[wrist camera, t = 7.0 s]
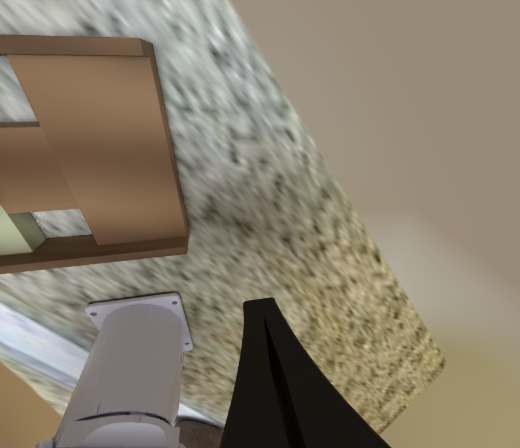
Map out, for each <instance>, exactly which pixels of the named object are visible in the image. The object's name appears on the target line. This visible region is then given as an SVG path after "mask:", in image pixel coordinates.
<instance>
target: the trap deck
mask: <svg viewBox="0 0 520 448" xmlns="http://www.w3.org/2000/svg"><path fill="white" fill-rule="evenodd" d="M0 56H7V58H8V60H9V62H10V64H11V66H12V68H13V70H14V72H15V74H16V76H17V78H18V81H19V83H20V85H21V87H22V89H23V91H24V93H25V95H26V97H27V99H28V101H29V103H30V105H31V108H32V110H33V112H34V114H35V116H36V118H37V120H38V122H17V123H0V274H7V273H16V272H25V271H34V270H43V269H52V268H62V267H71V266H80V265H89V264H98V263H107V262H117V261H126V260H135V259H144V258H153V257H162V256H172V255H181V254H187V249H188V240H189V227H188V222H187V217H186V212H185V207H184V201H183V196H182V191H181V186H180V181H179V176H178V171H177V166H176V161H175V156H174V151H173V146H172V141H171V136H170V130H169V125H168V120H167V115H166V110H165V105H164V100H163V95H162V90H161V85H160V80H159V75H158V70H157V64H156V59H155V54H154V49H153V44H151V43H149V42H147V41H145V40H142V39H140V38H111V37H74V36H36V35H0ZM78 208H80V209H81V211H82V213H83V215H84V218H85V220H86V222H87V224H88V226H89V228H90V230H91V232H92V234H93V235H83V236H72V237H61V238H50V239H46V238H45V236H44V235H43V233H42V232H41V230H40V228H39V227H38V225H37V224H36V222H35V220H34V219H33V217H32V216H31V214H30V212H38V211H52V210H65V209H78Z"/></svg>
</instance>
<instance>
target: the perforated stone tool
mask: <svg viewBox="0 0 520 448" xmlns="http://www.w3.org/2000/svg"><path fill="white" fill-rule="evenodd" d="M175 427H179V428H180V433H179V443H181V444H183V445H184V446H185V447H186V448H219V446H220V442H221V439H222V435H223V432H222V431H221V430H219V429H218V428H216V427H213V426H210V425H207V424H204V423H200V422H196V421H181V422H178V423H177V424H176V425H175Z"/></svg>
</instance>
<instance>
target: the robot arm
mask: <svg viewBox="0 0 520 448" xmlns="http://www.w3.org/2000/svg"><path fill="white" fill-rule="evenodd" d="M243 310H244V330H243V339H242V348H241V355H240V361H239V366H238V372H237V377H236V382H235V387H234V391H233V396H232V400H231V404H230V408H229V412H228V416H227V420H226V424H225V428H224V432H223V435H222V439H221V442H220V446H219V448H391V447H390V446H389V445H388V444H387V443H386V442H385V441H384V440H383V439H382V438H381V437H380V436H379V435H378V434H377V433H376V432H375V431H374V430H373V429H372V428H371V427H370V426H369V425H368V424H367V423H366V422H365V420H364V419H363V418H362V417H361V416H360V415H359V414H358V413H357V412H356V411H355V410H354V409H353V408H352V407H351V406H350V405H349V404H348V402H347V401H346V400H345V399H344V398H343V397H342V396H341V394H340V393H339V392H338V391H337V390H336V389H335V388H334V386H333V385H332V384H331V383H330V382H329V380H328V379H327V378H326V377H325V376H324V374H323V373H322V372H321V370H320V369H319V368H318V367H317V365H316V364H315V363H314V361H313V360H312V359H311V357H310V356H309V355H308V353H307V352H306V350H305V349H304V348H303V346H302V345H301V343H300V342H299V340H298V339H297V337H296V336H295V334H294V333H293V331H292V330H291V328H290V326H289V325H288V323H287V322H286V320H285V318H284V316H283V315H282V313H281V311H280V309H279V307H278V305H277V303H276V301H275V299H274V298H272V297H271V298H264V299H257V300H250V301H245V302H244V303H243ZM85 311H86V313H87V314H88V316H89V317H90V319H91V320H92V322H93V324H94V325H95V327H96V328H97V330H98V331H99V333H98V335H97V337H96V340H95V342H94V345H93V347H92V349H91V352H90V354H89V356H88V359H87V361H86V364H85V366H84V368H83V371H82V373H81V375H80V378H79V380H78V382H77V385H76V387H75V390H74V392H73V394H72V397H71V399H70V401H69V404H68V406H67V409H66V411H65V413H64V416H63V418H62V420H61V423H60V425H59V427H58V430H57V432H56V434H55V435H54V436H53V438H52V439H51V440H41V441H39V442H38V443H37V444H36V445H35V446H34V447H32V448H186V447H185V446H184V445H183V444H181V443H179V433H180V428H179V427H175V426H173V424H174V422H175V419H176V417H177V413H178V409H179V400H180V389H181V378H182V367H183V356H184V352H185V351H190V350H192V349H193V343H192V339H191V336H190V332H189V328H188V325H187V321H186V318H185V314H184V310H183V307H182V303H181V300H180V296H179V294H177V293H169V294H162V295H154V296H146V297H139V298H131V299H124V300H116V301H109V302H101V303H94V304H89V305H87V307H86V309H85Z"/></svg>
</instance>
